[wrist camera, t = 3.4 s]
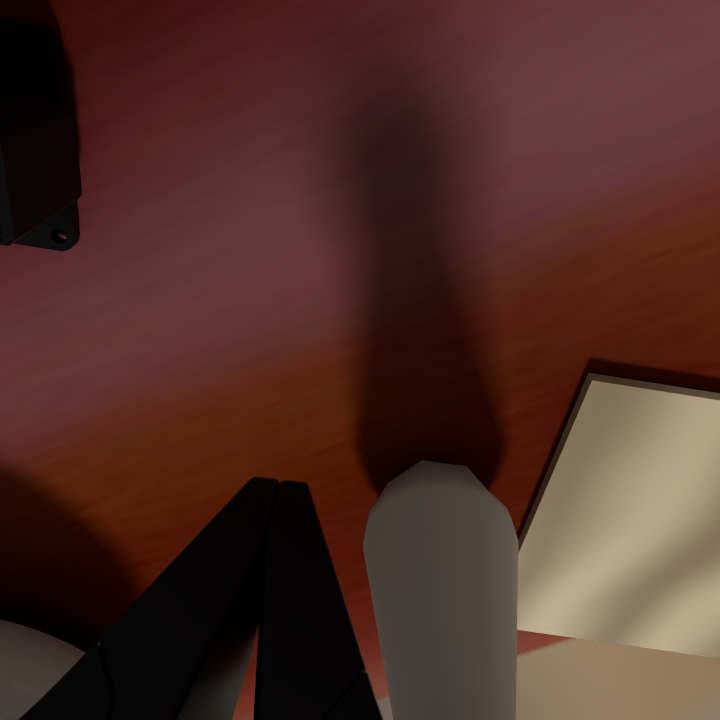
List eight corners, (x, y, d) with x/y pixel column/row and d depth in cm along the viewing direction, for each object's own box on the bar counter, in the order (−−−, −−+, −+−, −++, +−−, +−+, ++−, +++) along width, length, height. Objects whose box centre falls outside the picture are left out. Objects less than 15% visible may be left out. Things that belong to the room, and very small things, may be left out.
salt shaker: (532, 470, 24) (647, 875, 13) (469, 560, 27) (520, 955, 16) (396, 425, 23) (396, 818, 12) (346, 523, 26) (310, 912, 15)
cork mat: (486, 616, 29) (487, 625, 29) (588, 372, 22) (591, 380, 21) (770, 656, 30) (775, 666, 29) (962, 431, 22) (973, 440, 22)
